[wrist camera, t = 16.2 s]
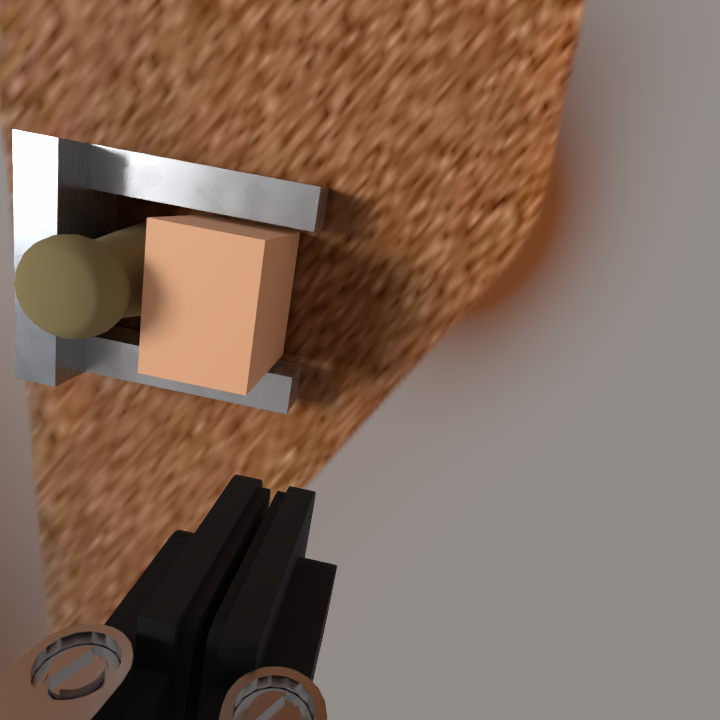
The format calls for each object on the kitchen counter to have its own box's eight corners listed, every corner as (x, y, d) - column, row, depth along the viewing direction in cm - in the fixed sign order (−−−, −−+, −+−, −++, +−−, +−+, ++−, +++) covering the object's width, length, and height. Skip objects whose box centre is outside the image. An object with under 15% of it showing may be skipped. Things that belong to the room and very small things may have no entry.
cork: (217, 245, 35) (129, 263, 24) (185, 326, 37) (91, 376, 26) (132, 203, 35) (7, 202, 24) (104, 287, 36) (-23, 320, 26)
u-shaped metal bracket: (81, 142, 34) (12, 129, 28) (329, 188, 33) (310, 185, 27) (76, 351, 38) (15, 378, 32) (297, 397, 37) (274, 433, 31)
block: (208, 214, 34) (147, 217, 26) (300, 232, 34) (265, 240, 26) (196, 337, 36) (137, 373, 29) (282, 355, 36) (246, 395, 29)
